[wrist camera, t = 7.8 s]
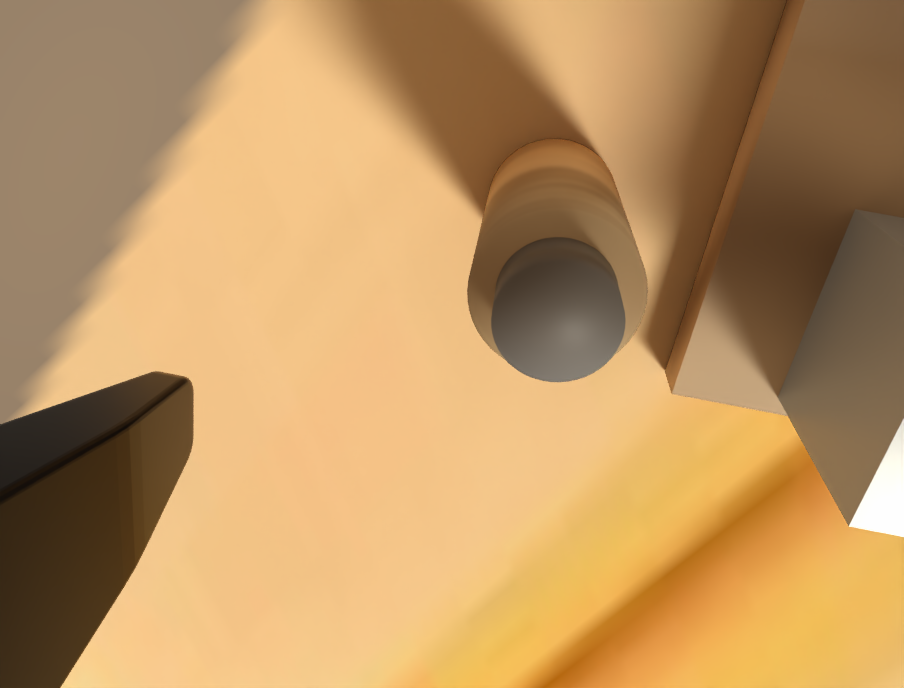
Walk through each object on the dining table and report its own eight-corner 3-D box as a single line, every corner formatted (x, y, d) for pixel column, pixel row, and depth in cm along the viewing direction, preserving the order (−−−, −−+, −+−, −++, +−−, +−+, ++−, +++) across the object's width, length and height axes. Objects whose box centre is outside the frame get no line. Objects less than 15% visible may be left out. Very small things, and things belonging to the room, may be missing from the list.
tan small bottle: (599, 274, 20) (628, 422, 13) (478, 251, 20) (447, 387, 13) (632, 151, 18) (682, 251, 12) (500, 127, 18) (478, 213, 12)
